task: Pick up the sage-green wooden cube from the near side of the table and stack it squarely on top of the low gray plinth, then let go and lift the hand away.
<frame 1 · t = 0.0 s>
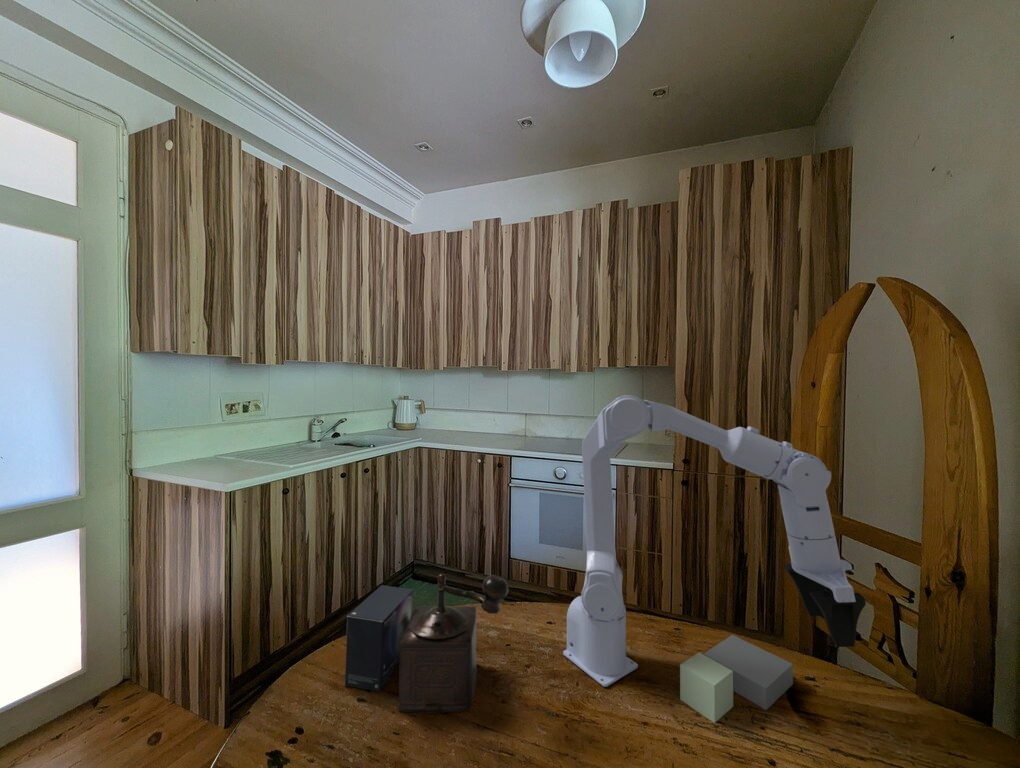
hand: (829, 629, 57), 11 cm above the table, tool pointing down, fingers open, 7 cm apart
gray plinth: (747, 678, 62), on the table
small box: (380, 668, 65), on the table
green cube: (706, 703, 57), on the table
manual coffee grinder: (456, 688, 60), on the table
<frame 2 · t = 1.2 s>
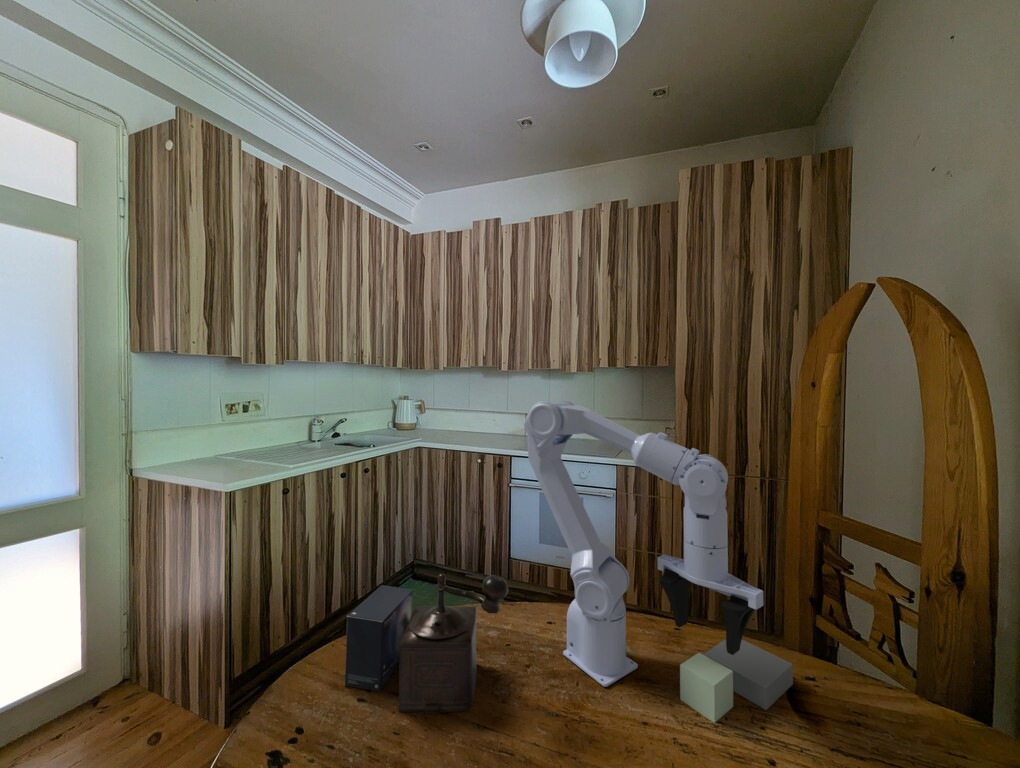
hand: (706, 637, 57), 9 cm above the table, tool pointing down, fingers open, 7 cm apart
nothing on the table moved.
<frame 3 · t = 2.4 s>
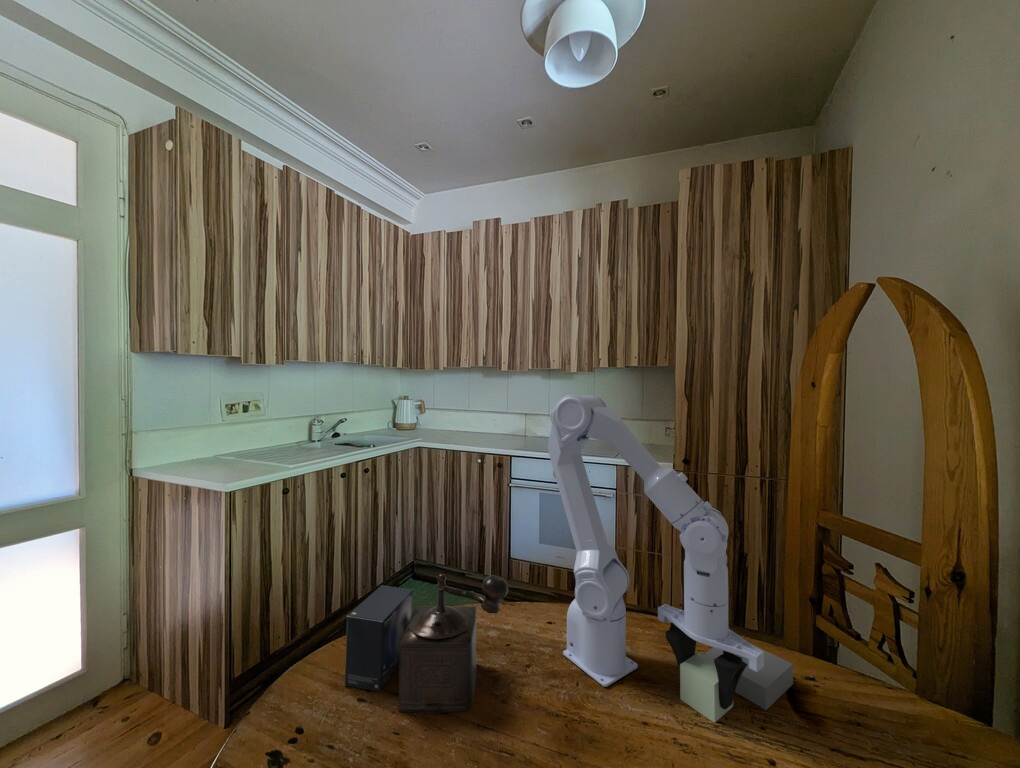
hand: (706, 692, 57), 1 cm above the table, tool pointing down, fingers closed on green cube, 5 cm apart
green cube: (706, 702, 57), on the table, touching gripper
everything else where it was.
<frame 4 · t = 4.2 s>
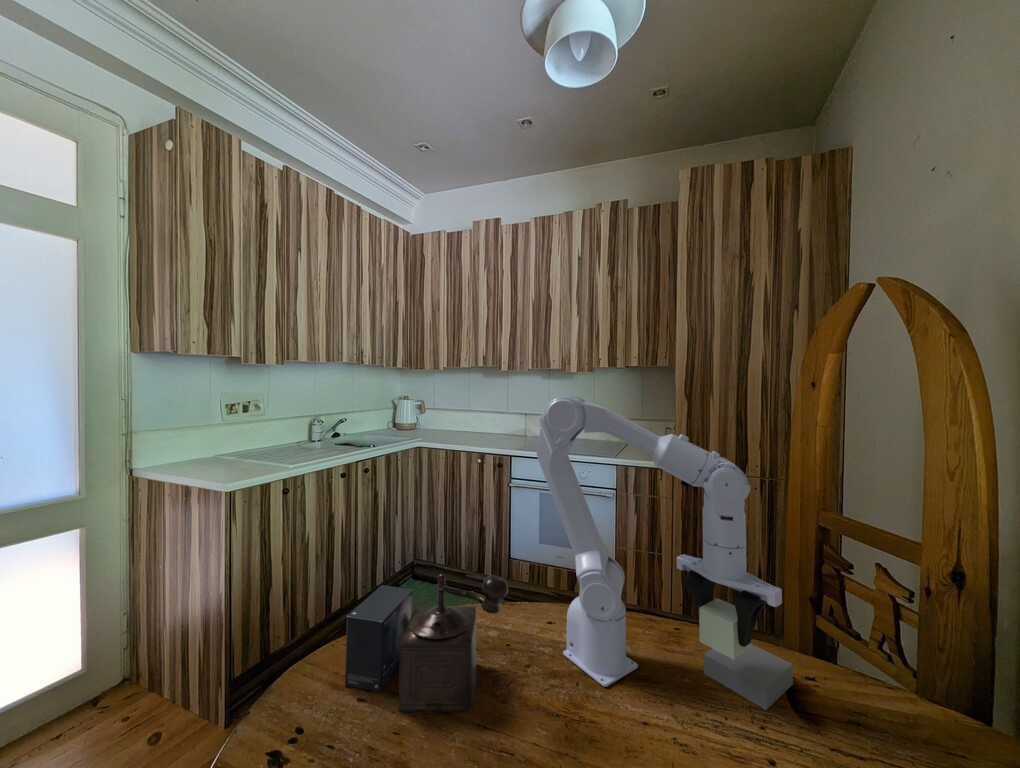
hand: (725, 634, 59), 8 cm above the table, tool pointing down, fingers closed on green cube, 5 cm apart
green cube: (725, 644, 59), point 7 cm above the table, touching gripper
everything else where it was.
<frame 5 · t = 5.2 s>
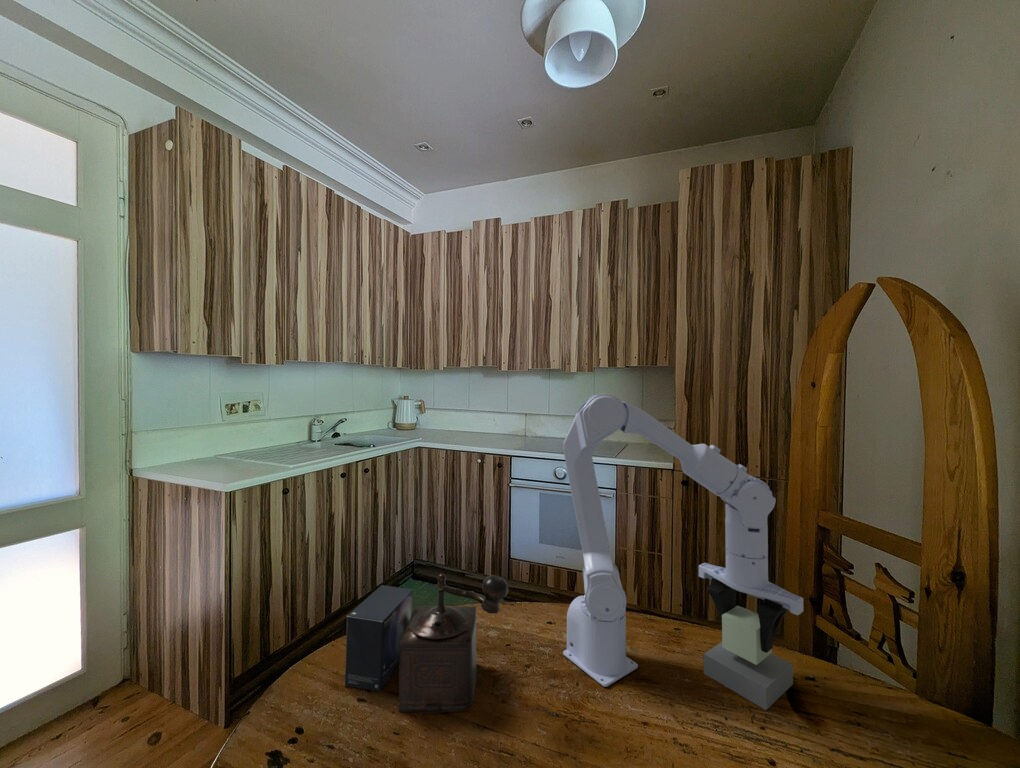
hand: (747, 639, 62), 6 cm above the table, tool pointing down, fingers closed on green cube, 5 cm apart
green cube: (746, 649, 62), point 4 cm above the table, touching gripper
everything else where it was.
when the fingers open (6 cm above the table, at t = 6.0 s): green cube drops 1 cm, resting on gray plinth.
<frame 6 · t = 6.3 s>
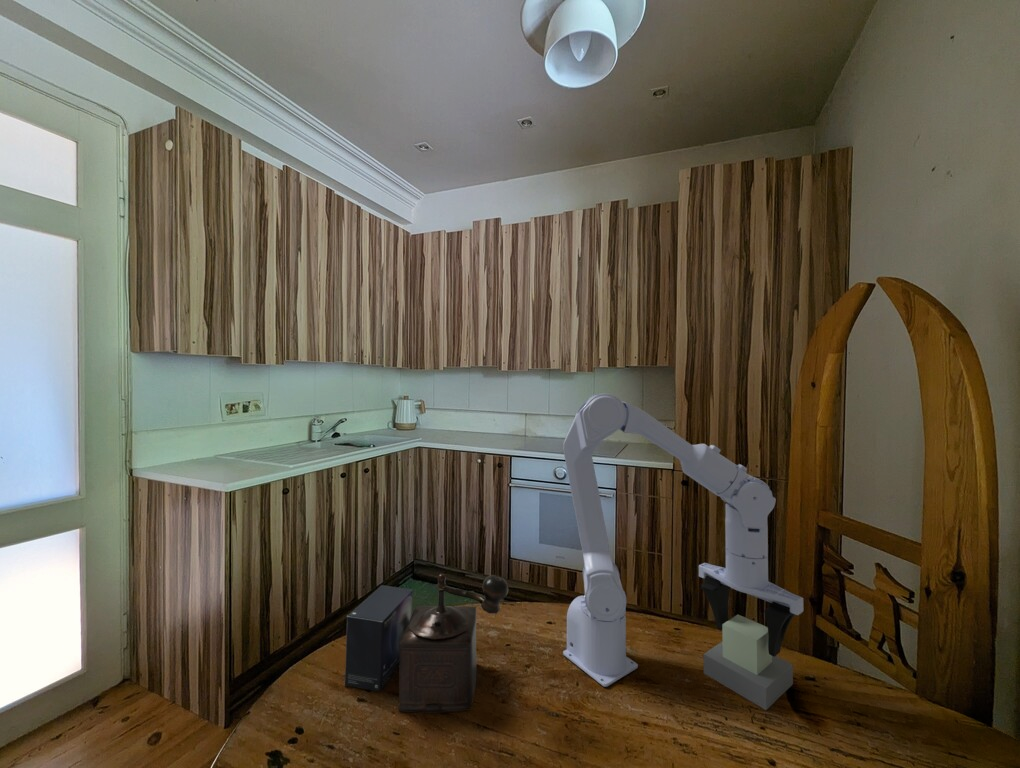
hand: (747, 639, 62), 6 cm above the table, tool pointing down, fingers open, 7 cm apart
green cube: (747, 659, 62), point 3 cm above the table, touching gray plinth
everything else where it was.
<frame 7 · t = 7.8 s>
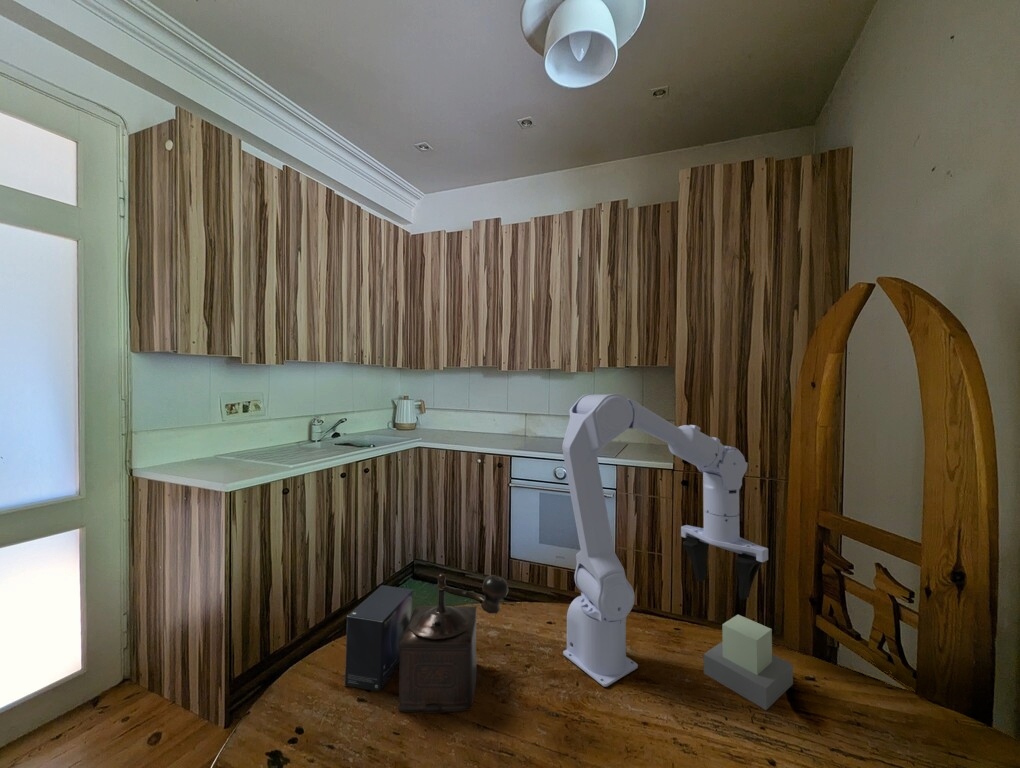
hand: (721, 588, 72), 9 cm above the table, tool pointing down, fingers open, 7 cm apart
nothing on the table moved.
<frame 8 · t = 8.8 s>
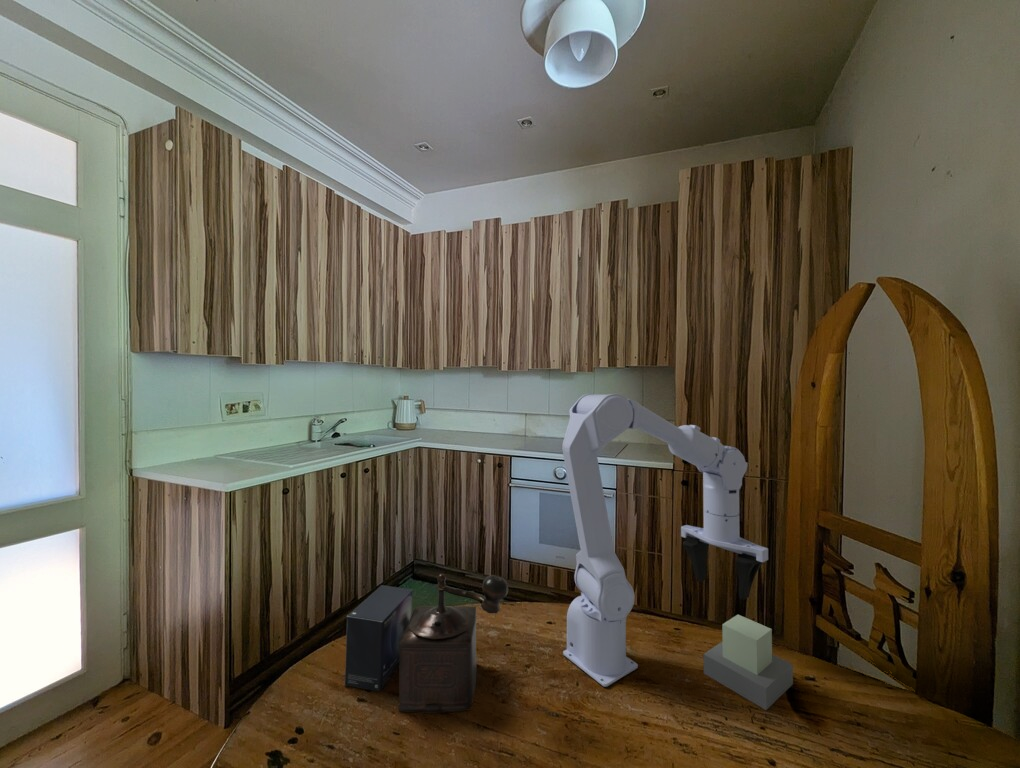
hand: (721, 588, 72), 9 cm above the table, tool pointing down, fingers open, 7 cm apart
nothing on the table moved.
at the end: green cube 0.1 cm off-centre on the gray plinth, point 3.0 cm above the gray plinth's base; green cube tilted 0°; the gripper is holding nothing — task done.
